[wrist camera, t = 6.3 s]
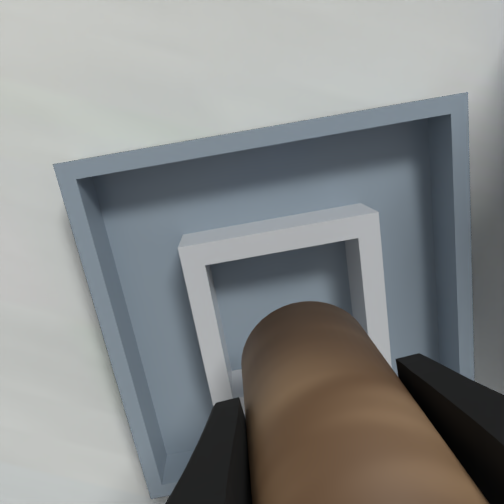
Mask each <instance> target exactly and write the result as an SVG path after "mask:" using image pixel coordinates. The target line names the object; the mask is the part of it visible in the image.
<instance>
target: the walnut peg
mask: <svg viewBox="0 0 504 504" xmlns="http://www.w3.org/2000/svg"><path fill="white" fill-rule="evenodd" d="M241 368H242V381H243V394H244V406H245V419H246V431H247V443H248V456H249V469H250V482H251V494H252V504H490V503H489V502H488V500H487V499H486V498H485V496H484V495H483V494H482V492H481V491H480V489H479V488H478V487H477V485H476V484H475V482H474V481H473V480H472V478H471V477H470V476H469V474H468V473H467V471H466V470H465V469H464V467H463V466H462V465H461V463H460V462H459V460H458V459H457V458H456V456H455V455H454V453H453V452H452V451H451V449H450V448H449V447H448V445H447V444H446V442H445V441H444V440H443V438H442V437H441V435H440V434H439V433H438V431H437V430H436V429H435V427H434V426H433V424H432V423H431V422H430V420H429V419H428V417H427V416H426V415H425V413H424V412H423V411H422V409H421V408H420V406H419V405H418V404H417V402H416V401H415V400H414V398H413V397H412V395H411V394H410V393H409V391H408V390H407V388H406V387H405V386H404V384H403V383H402V382H401V380H400V379H399V377H398V376H397V375H396V373H395V372H394V370H393V369H392V368H391V366H390V365H389V364H388V362H387V361H386V359H385V358H384V357H383V355H382V354H381V352H380V351H379V350H378V348H377V347H376V346H375V344H374V343H373V341H372V340H371V339H370V337H369V336H368V335H367V333H366V332H365V330H364V329H363V328H362V326H361V325H360V324H359V322H358V321H357V320H356V319H355V318H354V317H353V316H352V315H350V314H349V313H348V312H346V311H345V310H343V309H341V308H339V307H337V306H335V305H332V304H328V303H324V302H318V301H303V302H297V303H292V304H289V305H286V306H283V307H281V308H279V309H277V310H275V311H273V312H271V313H270V314H268V315H267V316H266V317H265V318H263V319H262V320H261V321H260V322H259V323H258V324H257V325H256V326H255V328H254V329H253V330H252V332H251V333H250V335H249V337H248V338H247V340H246V343H245V345H244V348H243V353H242V360H241Z"/></svg>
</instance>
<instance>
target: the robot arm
mask: <svg viewBox="0 0 504 504" xmlns="http://www.w3.org/2000/svg"><path fill="white" fill-rule="evenodd" d="M396 365H397V371H398V377H399V379H400V380H401V382H402V383H403V384H404V386H405V387H406V388H407V390H408V391H409V393H410V394H411V395H412V397H413V398H414V400H415V401H416V402H417V404H418V405H419V406H420V408H421V409H422V411H423V412H424V413H425V415H426V416H427V417H428V419H429V420H430V422H431V423H432V424H433V426H434V427H435V429H436V430H437V431H438V433H439V434H440V435H441V437H442V438H443V440H444V441H445V442H446V444H447V445H448V447H449V448H450V449H451V451H452V452H453V453H454V455H455V456H456V458H457V459H458V460H459V462H460V463H461V465H462V466H463V467H464V469H465V470H466V471H467V473H468V474H469V476H470V477H471V478H472V480H473V481H474V482H475V484H476V485H477V487H478V488H479V489H480V491H481V492H482V494H483V495H484V496H485V498H486V499H487V500H488V502H489V503H490V504H504V395H502V394H500V393H498V392H496V391H493V390H491V389H489V388H487V387H485V386H483V385H481V384H479V383H477V382H475V381H473V380H471V379H469V378H467V377H465V376H463V375H461V374H459V373H457V372H455V371H453V370H451V369H450V368H448V367H446V366H444V365H442V364H440V363H438V362H436V361H434V360H432V359H430V358H428V357H426V356H424V355H422V354H420V353H417V354H413V355H409V356H405V357H401V358H397V359H396ZM165 504H252V494H251V482H250V469H249V456H248V443H247V431H246V419H245V416H244V412H243V409H242V405H241V402H240V398H239V397H237V398H233V399H229V400H225V401H221V402H217V403H215V405H214V406H213V408H212V411H211V413H210V416H209V418H208V420H207V423H206V425H205V428H204V430H203V432H202V434H201V437H200V439H199V441H198V443H197V445H196V447H195V449H194V451H193V453H192V455H191V457H190V460H189V462H188V464H187V466H186V468H185V470H184V471H183V473H182V475H181V477H180V479H179V480H178V482H177V484H176V486H175V488H174V489H173V491H172V493H171V495H170V496H169V498H168V500H167V502H166V503H165Z"/></svg>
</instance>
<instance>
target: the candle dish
mask: <svg viewBox="0 0 504 504" xmlns="http://www.w3.org/2000/svg"><path fill="white" fill-rule="evenodd" d="M53 167H54V170H55V173H56V177H57V180H58V184H59V187H60V190H61V194H62V197H63V201H64V204H65V208H66V211H67V214H68V218H69V221H70V225H71V228H72V231H73V235H74V238H75V242H76V245H77V249H78V252H79V255H80V259H81V262H82V266H83V269H84V272H85V276H86V279H87V283H88V286H89V289H90V293H91V296H92V300H93V303H94V307H95V310H96V313H97V317H98V320H99V324H100V327H101V330H102V334H103V337H104V341H105V344H106V347H107V351H108V354H109V358H110V361H111V365H112V368H113V371H114V375H115V378H116V382H117V385H118V388H119V392H120V395H121V399H122V402H123V406H124V409H125V412H126V416H127V419H128V423H129V426H130V429H131V433H132V436H133V440H134V443H135V446H136V450H137V453H138V457H139V460H140V464H141V467H142V470H143V474H144V477H145V481H146V484H147V487H148V491H149V494H150V498H151V499H153V498H159V497H164V496H169V495H171V493H172V491H173V489H174V488H175V486H176V484H177V482H178V480H179V479H180V477H181V475H182V473H183V471H184V470H185V468H186V466H187V464H188V462H189V460H190V457H191V455H192V453H193V451H194V449H195V447H196V445H197V443H198V441H199V439H200V437H201V434H202V432H203V430H204V428H205V425H206V423H207V420H208V418H209V416H210V413H211V411H212V408H213V406H214V405H215V403H217V402H221V401H225V400H229V399H233V398H237V397H239V398H240V402H241V405H242V409H243V412H244V416H245V406H244V394H243V381H242V368H241V360H242V353H243V348H244V345H245V343H246V340H247V338H248V337H249V335H250V333H251V332H252V330H253V329H254V328H255V326H256V325H257V324H258V323H259V322H260V321H261V320H262V319H263V318H265V317H266V316H267V315H268V314H270V313H271V312H273V311H275V310H277V309H279V308H281V307H283V306H286V305H289V304H292V303H297V302H303V301H318V302H324V303H328V304H332V305H335V306H337V307H339V308H341V309H343V310H345V311H346V312H348V313H349V314H350V315H352V316H353V317H354V318H355V319H356V320H357V321H358V322H359V324H360V325H361V326H362V328H363V329H364V330H365V332H366V333H367V335H368V336H369V337H370V339H371V340H372V341H373V343H374V344H375V346H376V347H377V348H378V350H379V351H380V352H381V354H382V355H383V357H384V358H385V359H386V361H387V362H388V364H389V365H390V366H391V368H392V369H393V370H394V372H395V373H396V375H397V376H398V371H397V365H396V359H397V358H401V357H405V356H409V355H413V354H417V353H420V354H422V355H424V356H426V357H428V358H430V359H432V360H434V361H436V362H438V363H440V364H442V365H444V366H446V367H448V368H450V369H451V370H453V371H455V372H457V373H459V374H461V375H463V376H465V377H467V378H469V379H471V380H473V381H475V380H474V336H473V293H472V250H471V207H470V163H469V120H468V92H466V93H460V94H454V95H448V96H442V97H436V98H431V99H425V100H419V101H413V102H408V103H402V104H396V105H390V106H385V107H379V108H373V109H367V110H362V111H356V112H350V113H344V114H339V115H333V116H327V117H321V118H316V119H310V120H304V121H298V122H293V123H287V124H281V125H275V126H270V127H264V128H258V129H252V130H247V131H241V132H235V133H229V134H224V135H218V136H212V137H206V138H201V139H195V140H189V141H183V142H178V143H172V144H166V145H160V146H155V147H149V148H143V149H137V150H132V151H126V152H120V153H114V154H108V155H103V156H97V157H91V158H85V159H80V160H74V161H69V162H63V163H57V164H53Z"/></svg>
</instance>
